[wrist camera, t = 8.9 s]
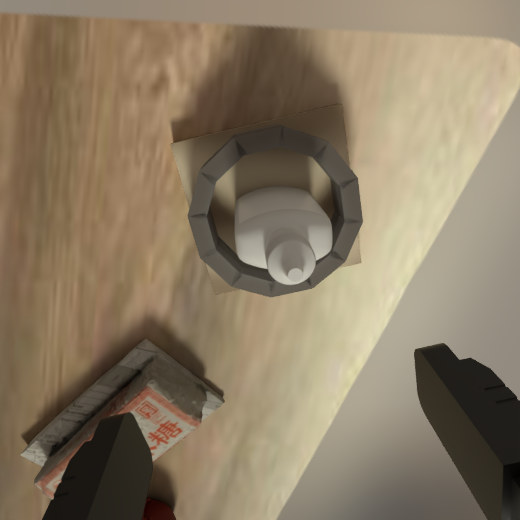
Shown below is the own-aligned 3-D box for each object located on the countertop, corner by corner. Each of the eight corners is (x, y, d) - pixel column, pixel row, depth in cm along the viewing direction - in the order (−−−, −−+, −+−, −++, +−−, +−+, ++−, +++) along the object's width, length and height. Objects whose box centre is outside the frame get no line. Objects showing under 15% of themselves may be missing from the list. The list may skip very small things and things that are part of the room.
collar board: (173, 142, 27) (162, 148, 23) (337, 103, 27) (353, 104, 23) (216, 288, 32) (212, 313, 28) (357, 257, 31) (373, 278, 28)
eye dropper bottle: (250, 165, 27) (258, 207, 16) (320, 196, 28) (373, 256, 17) (227, 219, 28) (219, 293, 17) (294, 247, 30) (327, 333, 18)
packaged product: (131, 366, 29) (223, 433, 32) (145, 331, 34) (225, 393, 37) (-2, 486, 33) (91, 536, 36) (26, 441, 38) (107, 489, 41)
